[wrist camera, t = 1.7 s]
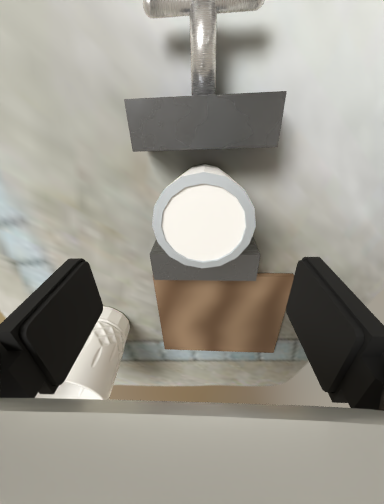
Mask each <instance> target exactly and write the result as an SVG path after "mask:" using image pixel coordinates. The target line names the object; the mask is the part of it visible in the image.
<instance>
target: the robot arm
mask: <svg viewBox="0 0 384 504" xmlns="http://www.w3.org/2000/svg"><path fill="white" fill-rule="evenodd" d="M102 311H103V304H102V301H101V298H100V295H99V292H98V289H97V286H96V283H95V280H94V277H93V274H92V271H91V268H90V265H89V263H88V262H86V261H85V260H84V259H68V260H67V261H66V262H65V263H64V264H63V265H62V266H61V267H59V268H58V269H57V270H56V271H55V272H54V273H53V274H52V275H51V276H50V277H49V278H48V279H47V280H46V281H45V282H44V283H43V284H42V285H41V286H40V287H39V288H38V289H37V290H35V291H34V292H33V293H32V294H31V295H30V296H29V297H28V298H27V299H26V300H25V301H24V302H23V303H22V304H21V305H20V306H19V307H18V308H17V309H16V310H15V311H14V312H13V313H11V314H10V315H9V316H8V317H7V318H6V319H5V320H4V322H2V323H1V324H0V504H384V325H383V324H382V323H381V322H380V321H379V320H378V319H377V318H376V317H375V316H374V315H373V314H372V313H371V312H370V311H369V309H368V308H367V307H366V306H365V305H364V304H363V303H362V302H361V301H360V300H359V299H358V298H357V297H356V295H355V294H354V293H353V292H352V291H351V290H350V289H349V288H348V287H347V286H346V285H345V284H344V283H343V282H342V280H341V279H340V278H339V277H338V276H337V275H336V274H335V273H334V272H333V271H332V270H331V269H330V268H329V267H328V266H327V264H326V263H325V262H324V261H323V260H322V259H321V258H320V257H304V258H303V259H302V260H300V261H299V262H298V264H297V267H296V271H295V275H294V279H293V283H292V286H291V290H290V294H289V298H288V301H287V305H286V311H287V315H288V317H289V319H290V321H291V323H292V325H293V328H294V330H295V332H296V334H297V336H298V338H299V340H300V343H301V345H302V347H303V349H304V351H305V353H306V355H307V358H308V360H309V362H310V364H311V366H312V368H313V371H314V373H315V375H316V377H317V379H318V381H319V383H320V385H321V387H322V389H323V390H324V391H325V392H328V393H329V396H330V398H331V400H332V402H337V403H349V405H350V407H351V408H338V407H318V406H295V405H266V404H236V403H235V404H234V403H206V402H205V403H204V402H171V401H138V400H136V401H135V400H99V399H57V398H35V397H36V395H37V393H38V392H39V394H54V393H55V392H56V390H57V388H58V386H59V385H61V384H62V383H63V382H64V381H65V379H66V378H67V376H68V374H69V372H70V370H71V368H72V367H73V365H74V363H75V361H76V359H77V357H78V356H79V354H80V352H81V350H82V348H83V347H84V345H85V343H86V341H87V339H88V337H89V336H90V334H91V332H92V330H93V328H94V327H95V325H96V323H97V321H98V319H99V317H100V316H101V314H102Z"/></svg>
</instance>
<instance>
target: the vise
mask: <svg viewBox="0 0 384 504" xmlns="http://www.w3.org/2000/svg"><path fill="white" fill-rule="evenodd" d="M263 3H264V0H143V8H144V11H145V13H146V15H147V16H148V17H150V18H166V17H179V16H190V48H191V83H192V96H180V97H160V98H140V99H124V101H125V107H126V113H127V119H128V125H129V131H130V137H131V143H132V149H133V152H135V151H166V150H197V149H228V148H259V147H278V141H279V135H280V129H281V122H282V116H283V110H284V104H285V98H286V91H281V92H260V93H240V94H220V95H215V85H216V33H217V14H218V13H231V12H245V11H256V10H258V9H259V8H260V7H261V6H262V5H263ZM150 259H151V265H152V271H153V277H154V280H206V281H256V278H257V272H258V266H259V259H260V253H259V250H258V248H257V246H256V243H255V241H254V238H253V237H252V238H251V241H250V244H249V245H248V246H247V247H246V248H245V249H244V250H243V252H242V253H241V254H240V255H239V256H238V257H237V258H235V259H233V260H231V261H229V262H227V263H225V264H223V265H221V266H216V267H209V268H198V267H192V266H187V265H184V264H182V263H180V262H179V261H177V260H175V259H173V258H171V257H170V256H169V255H168V254H167V253H166V252H165V251H164V249H163V248H162V247H161V246H160V245H159V244H158V242H157V239H156V241H155V244H154V246H153V248H152V251H151V253H150Z"/></svg>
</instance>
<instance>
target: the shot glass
mask: <svg viewBox="0 0 384 504" xmlns="http://www.w3.org/2000/svg"><path fill="white" fill-rule="evenodd" d="M152 227H153V230H154V233H155V236H156V239H157V242H158V244H159V245H160V246H161V247H162V248H163V249H164V251H165V252H166V253H167V254H168V255H169V256H170V257H171V258H173V259H175V260H177V261H179V262H180V263H182V264H184V265H187V266H192V267H198V268H209V267H216V266H221V265H223V264H225V263H227V262H229V261H231V260H233V259H235V258H237V257H238V256H239V255H240V254H241V253H242V252H243V250H244V249H245V248H246V247H247V246H248V245H249V244H250V241H251V238H252V236H253V233H254V230H255V228H256V222H255V207H254V206H253V204H252V202H251V200H250V198H249V197H248V195H247V193H246V191H245V189H244V188H242V187H241V186H240V185H239V184H238V183H237V182H236V181H234V180H233V179H232V178H231V177H230V176H229V175H228V174H226V173H225V172H224V171H222V170H221V169H220V168H218V167H216V166H211V165H207V164H203V165H198V166H194V167H191V168H190V169H189V170H187V171H186V172H185V173H183V174H182V175H181V176H179V177H178V178H177V179H176V180H175V181H173V182H172V183H171V184H170V185H169V186H167V187H166V188H165V189H164V190H163V192H162V194H161V195H160V197H159V199H158V201H157V202H156V204H155V206H154V211H153V222H152Z"/></svg>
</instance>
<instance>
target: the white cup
mask: <svg viewBox="0 0 384 504" xmlns="http://www.w3.org/2000/svg"><path fill="white" fill-rule="evenodd" d="M129 330H130V324H129V320H128V319H127V318H126V317H125V316H124V314H123V313H121V312H119V311H118V310H116V309H114V308H110V307H106V306H103V311H102V314H101V316H100V317H99V319H98V321H97V323H96V325H95V327H94V328H93V330H92V332H91V334H90V336H89V337H88V339H87V341H86V343H85V345H84V347H83V348H82V350H81V352H80V354H79V356H78V357H77V359H76V361H75V363H74V365H73V367H72V368H71V370H70V372H69V374H68V376H67V378H66V379H65V381H64V382H63V383H62V384H61V385H59V386H58V388H57V390H56V392H55V393H54V394H39V392H38V393H37V395H36V397H35V398H57V399H99V400H109V397H110V394H111V391H112V387H113V384H114V381H115V378H116V375H117V372H118V369H119V366H120V362H121V359H122V355H123V352H124V348H125V342H126V339H127V336H128V333H129Z"/></svg>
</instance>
